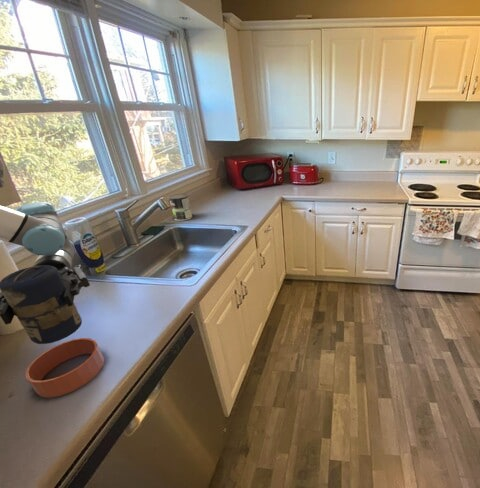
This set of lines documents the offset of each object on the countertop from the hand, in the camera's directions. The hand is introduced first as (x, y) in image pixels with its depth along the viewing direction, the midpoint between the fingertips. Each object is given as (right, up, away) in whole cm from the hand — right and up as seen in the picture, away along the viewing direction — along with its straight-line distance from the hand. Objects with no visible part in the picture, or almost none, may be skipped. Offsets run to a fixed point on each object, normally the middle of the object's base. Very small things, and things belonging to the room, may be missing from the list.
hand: (38, 309), depth 61 cm
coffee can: (-26, +30, +113) cm, 120 cm away
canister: (-2, -8, +8) cm, 11 cm away
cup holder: (-2, -19, +10) cm, 22 cm away
